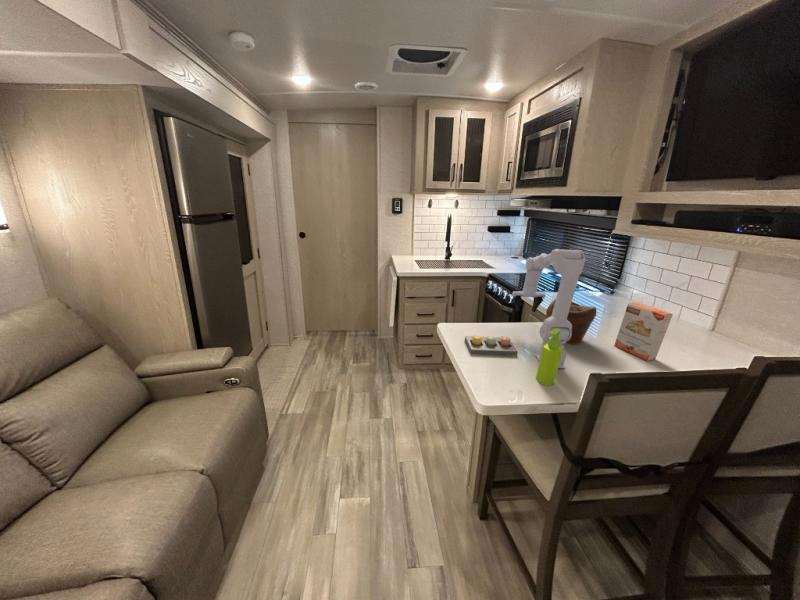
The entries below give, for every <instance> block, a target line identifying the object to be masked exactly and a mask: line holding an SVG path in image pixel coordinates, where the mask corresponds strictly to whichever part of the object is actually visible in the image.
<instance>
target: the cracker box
mask: <svg viewBox="0 0 800 600" xmlns="http://www.w3.org/2000/svg"><path fill="white" fill-rule="evenodd" d="M672 318H673V313H671V312H668V311H665V310H662V309H658V308H656V307H653V306H650V305H647V304H643V303H641V302H637V301H633V302H629V303H627V306H626V308H625V312H624V315H623V318H622V320H621V324H620V327H619V329H618V333H617V336H616V338H615V343H614V345H613V346H614V347H616V348H619V349H620V350H622V351H625V352H627V353H629V354H631V355H633V356H636V357H637V358H639V359H642V360H644V361H646V362H649V361H652V360H656V358H657V356H658V353H659V351H660V348H661V345H662V343H663V341H664V339H665V336H666V333H667V331H668V328H669V326H670V324H671V323H670V322H671V321H672Z"/></svg>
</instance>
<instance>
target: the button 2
mask: <svg viewBox="0 0 800 600" xmlns="http://www.w3.org/2000/svg"><path fill="white" fill-rule="evenodd" d="M510 341H511V338H510V337H508V336H500V346H501V347H509V345H510Z"/></svg>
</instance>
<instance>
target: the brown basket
mask: <svg viewBox="0 0 800 600" xmlns="http://www.w3.org/2000/svg"><path fill="white" fill-rule="evenodd" d="M555 301H556V298H555V299H553V300H552V301H551V302H550V303H549V306H547V308H546V313H545V314H546V317H547V318H548V317H550V316H551V315H552V312H553V308H554V304H555ZM596 316H597V308H596V306H589V305H588V306H587V305H583V304H582V305H581V304H578V303H576V302H574V301H572V302H571V306H570V309H569V313H568V316H567V320H568V321H569V322H570V323H571V324H572V331H571V332H572V335H571V338H570V340H569V341H566V344H568V345H569V344H570V345H578V344H580V343H582V341H583V339H584V337H585V336H586V333H588V330H589V329H590V327H591V325H592V323H593V322H594V320H595V317H596Z"/></svg>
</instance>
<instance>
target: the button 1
mask: <svg viewBox="0 0 800 600" xmlns="http://www.w3.org/2000/svg"><path fill="white" fill-rule="evenodd" d="M471 336H472V345H478V346H481V342H482V337H483V336H480V335H476V334H475V335H471Z"/></svg>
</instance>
